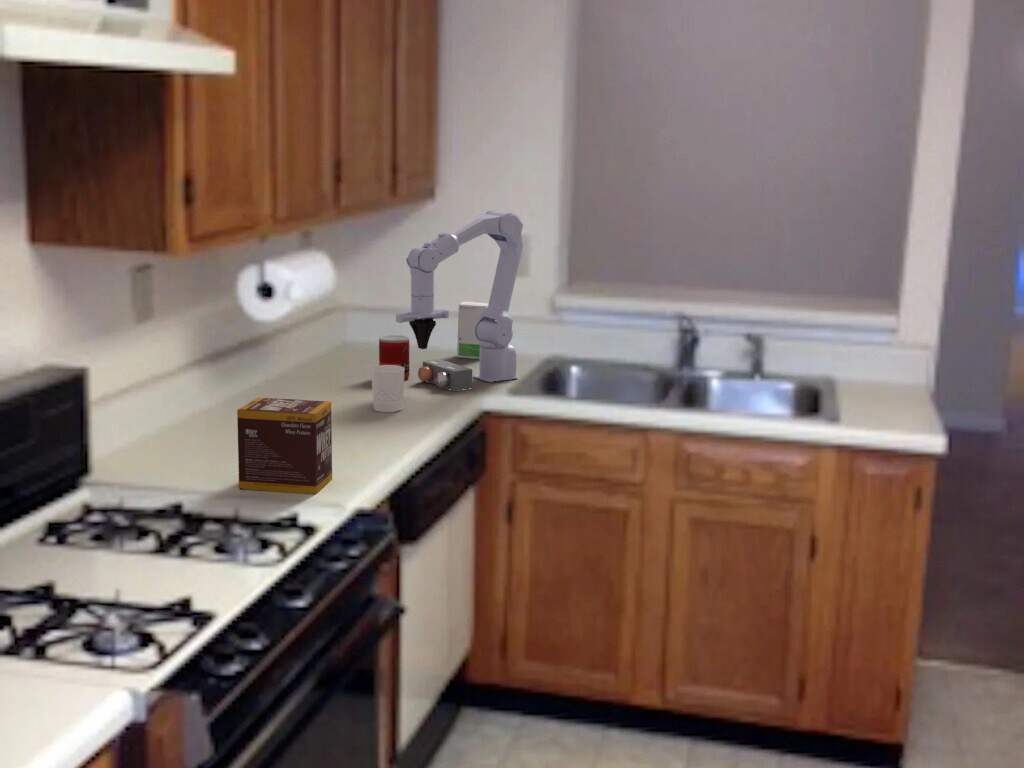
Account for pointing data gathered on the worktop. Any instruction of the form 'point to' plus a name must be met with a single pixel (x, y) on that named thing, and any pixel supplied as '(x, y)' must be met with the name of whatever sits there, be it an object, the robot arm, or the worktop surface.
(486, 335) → the robot arm
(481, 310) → the skincare box
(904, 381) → the worktop surface
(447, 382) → the knob aluminium
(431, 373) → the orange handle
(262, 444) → the supplement box
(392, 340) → the canned food
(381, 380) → the white cup
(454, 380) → the mount
